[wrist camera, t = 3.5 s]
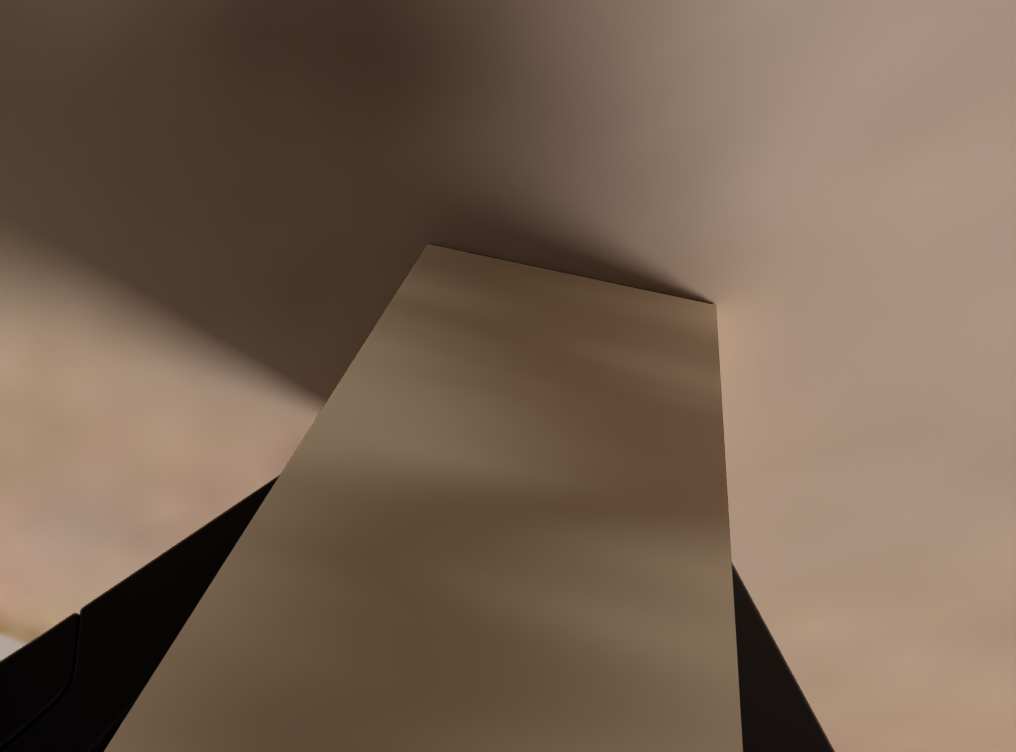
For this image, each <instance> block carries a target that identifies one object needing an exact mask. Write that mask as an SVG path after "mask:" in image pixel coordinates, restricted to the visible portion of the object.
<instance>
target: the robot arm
mask: <svg viewBox="0 0 1016 752" xmlns="http://www.w3.org/2000/svg"><path fill="white" fill-rule="evenodd" d="M279 476H280V475H279ZM279 476H277V477H276V478H274V479H273V480H271V481H270V482H268V483H267V484H265V485H264V486H263V487H261V488H260V489H258V490H257V491H255V492H254V493H252V494H251V495H249V496H248V497H246V498H245V499H243V500H242V501H240V502H239V503H237V504H236V505H234V506H233V507H231V508H230V509H228V510H227V511H225V512H224V513H222V514H221V515H219V516H218V517H216V518H215V519H213V520H212V521H210V522H209V523H207V524H206V525H205V526H203V527H202V528H200V529H199V530H197V531H196V532H194V533H193V534H191V535H190V536H188V537H187V538H185V539H184V540H182V541H181V542H179V543H178V544H176V545H175V546H173V547H172V548H170V549H169V550H167V551H166V552H164V553H163V554H161V555H160V556H158V557H157V558H155V559H154V560H152V561H151V562H149V563H148V564H147V565H145V566H144V567H142V568H141V569H139V570H138V571H136V572H135V573H133V574H132V575H130V576H129V577H127V578H126V579H124V580H123V581H121V582H120V583H118V584H117V585H115V586H114V587H112V588H111V589H109V590H108V591H106V592H105V593H103V594H102V595H100V596H99V597H97V598H96V599H94V600H93V601H91V602H90V603H89V604H87V605H86V606H84V607H83V608H82V609H81V610H80V615H79V614H77V613H74V614H72V615H70V616H69V617H67V618H66V619H64V620H63V621H61V622H60V623H58V624H57V625H55V626H54V627H52V628H51V629H49V630H48V631H46V632H45V633H43V634H42V635H40V636H39V637H37V638H36V639H34V640H33V641H31V642H30V643H28V644H26V645H25V646H23V647H22V648H20V649H19V650H17V651H16V652H14V653H12V654H11V655H9V656H8V657H6V658H5V659H3V660H1V661H0V752H104V751H105V749H106V747H107V746H108V744H109V743H110V741H111V740H112V738H113V736H114V735H115V733H116V732H117V730H118V729H119V727H120V726H121V724H122V722H123V721H124V719H125V718H126V716H127V715H128V713H129V711H130V710H131V708H132V707H133V705H134V704H135V702H136V700H137V699H138V697H139V696H140V694H141V693H142V691H143V689H144V688H145V686H146V685H147V683H148V682H149V680H150V678H151V677H152V675H153V674H154V672H155V671H156V669H157V667H158V666H159V664H160V663H161V661H162V660H163V658H164V656H165V655H166V653H167V652H168V650H169V649H170V647H171V645H172V644H173V642H174V641H175V639H176V638H177V636H178V634H179V633H180V631H181V630H182V628H183V627H184V625H185V624H186V622H187V620H188V619H189V617H190V616H191V614H192V613H193V611H194V609H195V608H196V606H197V605H198V603H199V602H200V600H201V598H202V597H203V595H204V594H205V592H206V591H207V589H208V587H209V586H210V584H211V583H212V581H213V580H214V578H215V576H216V575H217V573H218V572H219V570H220V569H221V567H222V565H223V564H224V562H225V561H226V559H227V558H228V556H229V554H230V553H231V551H232V550H233V548H234V547H235V545H236V543H237V542H238V540H239V539H240V537H241V536H242V534H243V533H244V531H245V529H246V528H247V526H248V525H249V523H250V522H251V520H252V518H253V517H254V515H255V514H256V512H257V511H258V509H259V507H260V506H261V504H262V503H263V501H264V500H265V498H266V496H267V495H268V493H269V492H270V490H271V489H272V487H273V485H274V484H275V482H276V481H277V479H278V478H279ZM732 578H733V595H734V611H735V628H736V644H737V661H738V678H739V694H740V711H741V727H742V744H743V752H835V751H834V749H833V748H832V746H831V744H830V742H829V740H828V738H827V737H826V735H825V733H824V731H823V729H822V727H821V725H820V724H819V722H818V720H817V718H816V716H815V714H814V713H813V711H812V709H811V707H810V705H809V703H808V702H807V700H806V698H805V696H804V694H803V692H802V690H801V689H800V687H799V685H798V683H797V681H796V679H795V678H794V676H793V674H792V672H791V670H790V668H789V667H788V665H787V663H786V661H785V659H784V657H783V655H782V654H781V652H780V650H779V648H778V646H777V644H776V643H775V641H774V639H773V637H772V635H771V633H770V632H769V630H768V628H767V626H766V624H765V622H764V620H763V619H762V617H761V615H760V613H759V611H758V609H757V608H756V606H755V604H754V602H753V600H752V598H751V596H750V595H749V593H748V591H747V589H746V587H745V585H744V584H743V582H742V580H741V578H740V576H739V574H738V573H737V571H736V569H735V567H734V565H733V563H732Z"/></svg>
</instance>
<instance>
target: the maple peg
mask: <svg viewBox="0 0 1016 752" xmlns="http://www.w3.org/2000/svg"><path fill="white" fill-rule="evenodd" d="M104 752H743V744H742V727H741V711H740V694H739V678H738V661H737V644H736V628H735V611H734V595H733V578H732V561H731V545H730V528H729V512H728V495H727V478H726V462H725V445H724V429H723V412H722V395H721V379H720V362H719V346H718V329H717V312H716V305H713V304H708V303H703V302H699V301H694V300H689V299H685V298H680V297H675V296H671V295H666V294H661V293H656V292H652V291H647V290H642V289H638V288H633V287H628V286H623V285H619V284H614V283H609V282H605V281H600V280H595V279H590V278H586V277H581V276H576V275H572V274H567V273H562V272H557V271H553V270H548V269H543V268H539V267H534V266H529V265H524V264H520V263H515V262H510V261H506V260H501V259H496V258H491V257H487V256H482V255H477V254H473V253H468V252H463V251H459V250H454V249H449V248H444V247H440V246H435V245H430V244H427V245H426V247H425V248H424V250H423V252H422V253H421V255H420V256H419V258H418V259H417V261H416V263H415V264H414V266H413V267H412V269H411V270H410V272H409V274H408V275H407V277H406V278H405V280H404V281H403V283H402V285H401V286H400V288H399V289H398V291H397V292H396V294H395V296H394V297H393V299H392V300H391V302H390V303H389V305H388V307H387V308H386V310H385V311H384V313H383V314H382V316H381V318H380V319H379V321H378V322H377V324H376V325H375V327H374V329H373V330H372V332H371V333H370V335H369V336H368V338H367V340H366V341H365V343H364V344H363V346H362V347H361V349H360V350H359V352H358V354H357V355H356V357H355V358H354V360H353V361H352V363H351V365H350V366H349V368H348V369H347V371H346V372H345V374H344V376H343V377H342V379H341V380H340V382H339V383H338V385H337V387H336V388H335V390H334V391H333V393H332V394H331V396H330V398H329V399H328V401H327V402H326V404H325V405H324V407H323V409H322V410H321V412H320V413H319V415H318V416H317V418H316V420H315V421H314V423H313V424H312V426H311V427H310V429H309V431H308V432H307V434H306V435H305V437H304V438H303V440H302V441H301V443H300V445H299V446H298V448H297V449H296V451H295V452H294V454H293V456H292V457H291V459H290V460H289V462H288V463H287V465H286V467H285V468H284V470H283V471H282V473H281V474H280V476H279V478H278V479H277V481H276V482H275V484H274V485H273V487H272V489H271V490H270V492H269V493H268V495H267V496H266V498H265V500H264V501H263V503H262V504H261V506H260V507H259V509H258V511H257V512H256V514H255V515H254V517H253V518H252V520H251V522H250V523H249V525H248V526H247V528H246V529H245V531H244V533H243V534H242V536H241V537H240V539H239V540H238V542H237V543H236V545H235V547H234V548H233V550H232V551H231V553H230V554H229V556H228V558H227V559H226V561H225V562H224V564H223V565H222V567H221V569H220V570H219V572H218V573H217V575H216V576H215V578H214V580H213V581H212V583H211V584H210V586H209V587H208V589H207V591H206V592H205V594H204V595H203V597H202V598H201V600H200V602H199V603H198V605H197V606H196V608H195V609H194V611H193V613H192V614H191V616H190V617H189V619H188V620H187V622H186V624H185V625H184V627H183V628H182V630H181V631H180V633H179V634H178V636H177V638H176V639H175V641H174V642H173V644H172V645H171V647H170V649H169V650H168V652H167V653H166V655H165V656H164V658H163V660H162V661H161V663H160V664H159V666H158V667H157V669H156V671H155V672H154V674H153V675H152V677H151V678H150V680H149V682H148V683H147V685H146V686H145V688H144V689H143V691H142V693H141V694H140V696H139V697H138V699H137V700H136V702H135V704H134V705H133V707H132V708H131V710H130V711H129V713H128V715H127V716H126V718H125V719H124V721H123V722H122V724H121V726H120V727H119V729H118V730H117V732H116V733H115V735H114V736H113V738H112V740H111V741H110V743H109V744H108V746H107V747H106V749H105V751H104Z"/></svg>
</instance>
